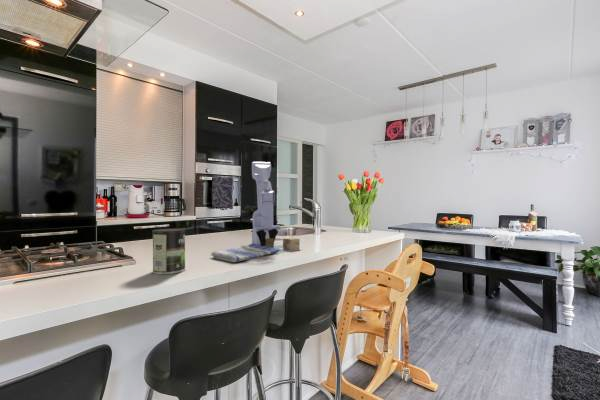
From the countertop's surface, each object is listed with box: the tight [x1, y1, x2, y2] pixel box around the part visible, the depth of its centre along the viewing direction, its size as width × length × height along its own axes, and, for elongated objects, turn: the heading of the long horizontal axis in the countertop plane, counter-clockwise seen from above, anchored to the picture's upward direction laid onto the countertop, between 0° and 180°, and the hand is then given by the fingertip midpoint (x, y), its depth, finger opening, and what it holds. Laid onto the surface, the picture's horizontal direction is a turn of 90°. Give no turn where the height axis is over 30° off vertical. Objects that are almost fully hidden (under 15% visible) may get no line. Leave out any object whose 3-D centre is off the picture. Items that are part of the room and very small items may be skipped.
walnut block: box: [265, 237, 275, 248], centre depth 143 cm, size 4×4×5 cm
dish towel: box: [210, 243, 279, 263], centre depth 128 cm, size 17×24×3 cm
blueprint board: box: [274, 244, 303, 254], centre depth 143 cm, size 16×16×1 cm
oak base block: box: [282, 236, 301, 252], centre depth 142 cm, size 6×6×5 cm
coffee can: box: [151, 227, 186, 275], centre depth 103 cm, size 10×10×14 cm
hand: (267, 245), depth 143 cm, fingers closed on walnut block, 4 cm apart
